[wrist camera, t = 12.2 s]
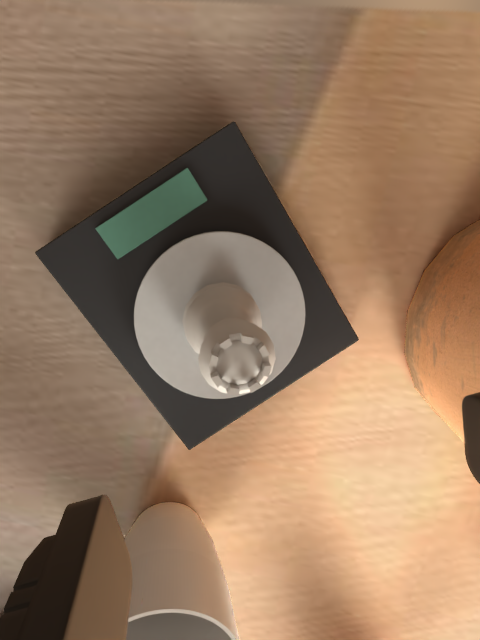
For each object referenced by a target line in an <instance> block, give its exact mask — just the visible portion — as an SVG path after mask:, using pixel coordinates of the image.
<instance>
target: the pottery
mask: <svg viewBox="0 0 480 640" xmlns="http://www.w3.org/2000/svg"><path fill="white" fill-rule="evenodd" d="M404 353H405V356H406V360H407V363H408V366H409V370H410V373H411V377H412V380H413V383H414V387H415V388H416V390H417V391H418V392H419V393H420V395H421V396H422V397H423V398H424V399H425V401H426V402H427V403H428V404H429V406H430V407H431V408H432V409H433V410H434V412H435V413H436V414H437V415H438V416H440V417H441V418H442V419H443V420H444V421H445V422H446V423H447V424H448V426H449V427H450V428H451V429H452V430H453V431H454V432H455V433H456V434H457V435H458V437H459V438H460V439H461V440H462V441H463V442H464V429H463V416H462V401H463V399H464V397H465V396H467V395H471V394H474V393H478V392H480V219H479V220H478V221H476V222H475V223H473V224H472V225H470V226H468V227H467V228H465V229H464V230H462V231H460V232H459V233H457V234H456V235H454V236H453V237H452V238H451V239H450V241H449V242H448V243H447V244H446V245H445V246H444V248H443V249H442V250H441V251H440V252H439V254H438V255H437V256H436V257H435V258H434V260H433V261H432V262H431V263H430V264H429V266H428V267H427V268H426V269H425V270H424V272H423V275H422V277H421V280H420V282H419V284H418V287H417V289H416V292H415V294H414V297H413V299H412V301H411V304H410V306H409V309H408V311H407V323H406V336H405V350H404ZM464 443H465V442H464Z"/></svg>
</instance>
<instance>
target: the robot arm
mask: <svg viewBox="0 0 480 640" xmlns="http://www.w3.org/2000/svg"><path fill="white" fill-rule="evenodd" d="M462 416H463V429H464V442H465V455H466V460H467V463H468V466H469V468H470V470H471V472H472V474H473V476H474V477H475V479H476V480H477V481H478V482H479V483H480V392H478V393H474V394H471V395H467V396H465V397H464V399H463V401H462ZM13 588H14V592H11V594H10V596H9V598H8V601H7V603H6V605H5V607H4V614H3V615H1V617H0V640H126V634H127V626H128V618H129V609H130V601H131V593H132V566H131V560H130V555H129V552H128V549H127V546H126V543H125V540H124V538H123V535H122V532H121V529H120V526H119V523H118V521H117V518H116V515H115V512H114V509H113V507H112V504H111V501H110V499H109V498H108V496H107V495H101V496H98V497H94V498H90V499H87V500H83V501H79V502H76V503H72V504H69V505H68V506H67V507H66V509H65V511H64V514H63V517H62V519H61V522H60V525H59V527H58V530H57V533H56V535H53V536H50V537H46V538H44V539H43V540H42V541H41V542H40V544H39V545H38V546H37V547H36V548H35V550H34V551H33V552H32V553H31V555H30V556H29V557H28V558H27V559H26V561H25V562H24V564H23V566H22V569H21V571H20V573H19V575H18V578H17V580H16V582H15V585H14V587H13Z"/></svg>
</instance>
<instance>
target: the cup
mask: <svg viewBox="0 0 480 640" xmlns="http://www.w3.org/2000/svg"><path fill="white" fill-rule="evenodd" d="M124 540H125V543H126V546H127V549H128V552H129V555H130V560H131V566H132V593H131V601H130V609H129V618H128V626H127V634H126V640H239V635H238V630H237V625H236V621H235V616H234V611H233V606H232V601H231V597H230V592H229V587H228V583H227V580H226V577H225V575H224V572H223V569H222V566H221V563H220V560H219V557H218V554H217V551H216V548H215V545H214V543H213V540H212V538H211V536H210V535H209V533H208V531H207V530H206V528H205V526H204V524H203V523H202V521H201V519H200V518H199V516H198V515H197V513H196V512H195V511H194V510H193V509H191V508H190V507H188V506H186V505H184V504H181V503H176V502H164V503H159V504H156V505H153V506H151V507H149V508H148V509H146V510H145V511H144V512H142V513H141V514H140V515H139V517H138V518H137V520H136V521H135V523H134V524H133V526H132V527H131V529H130V530H129V532H128V534H127V535H126V537H125V538H124Z"/></svg>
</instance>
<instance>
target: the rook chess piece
mask: <svg viewBox="0 0 480 640" xmlns="http://www.w3.org/2000/svg"><path fill="white" fill-rule="evenodd" d="M182 322H183V327H184V332H185V336H186V339H187V341H188V342H189V344H190V345H191V347H192V348H193V349H194V351H195V352H196V353H198V354H199V357H198V361H199V366H200V371H201V374H202V375H203V377H204V378H205V380H206V381H207V383H208V384H209V385H210V386H212V387H213V388H215V389H217V390H218V391H220V392H222V393H227V394H231V395H237V396H239V394H243V393H248V392H251V393H253V392H254V391H256V390H258V389H259V388H261V385H262V384H263V383H264V382H265V381H266V379H267V378H268V377H269V375H270V374H271V373H272V370H273V366H274V363H275V359H276V357H275V350H274V344H273V342H272V340H271V339H270V337H269V336H268V334H267V332H266V331H264V330H263V329H261V328H262V320H261V313H260V310H259V307H258V305H257V304H256V302H255V301H254V299H253V297H252V296H251V294H250V293H248V292H247V291H245V290H244V289H243V288H241V287H240V286H238V285H234V284H229V283H225V282H222V283H216V284H210V285H207V286H205V287H204V288H202V289H201V290H199V291H197V292H196V293H194V295H193V296H192V298H191V299H190V300H189V302H188V303H187V305H186V306H185V311H184V315H183V320H182Z"/></svg>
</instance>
